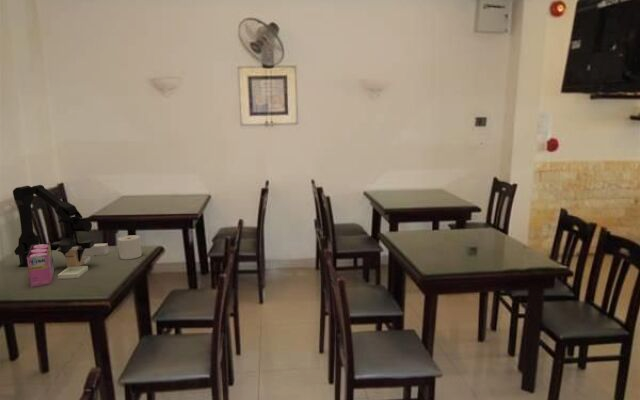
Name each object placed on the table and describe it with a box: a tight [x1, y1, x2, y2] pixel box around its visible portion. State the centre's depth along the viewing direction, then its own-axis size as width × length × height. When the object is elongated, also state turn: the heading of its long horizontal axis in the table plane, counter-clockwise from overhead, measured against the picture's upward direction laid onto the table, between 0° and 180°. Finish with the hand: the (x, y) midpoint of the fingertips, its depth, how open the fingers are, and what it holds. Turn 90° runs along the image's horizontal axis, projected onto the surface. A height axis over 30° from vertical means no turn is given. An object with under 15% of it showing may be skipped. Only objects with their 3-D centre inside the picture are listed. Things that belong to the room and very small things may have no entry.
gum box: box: [27, 241, 55, 288], centre depth 212 cm, size 24×8×14 cm, turn 26°
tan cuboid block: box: [64, 248, 84, 268], centre depth 225 cm, size 4×8×8 cm, turn 5°
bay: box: [72, 242, 110, 266], centre depth 238 cm, size 16×20×5 cm
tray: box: [57, 265, 89, 280], centre depth 215 cm, size 9×11×2 cm
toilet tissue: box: [117, 234, 143, 260], centre depth 239 cm, size 11×12×10 cm
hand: (74, 262), depth 225 cm, fingers closed on tan cuboid block, 4 cm apart
